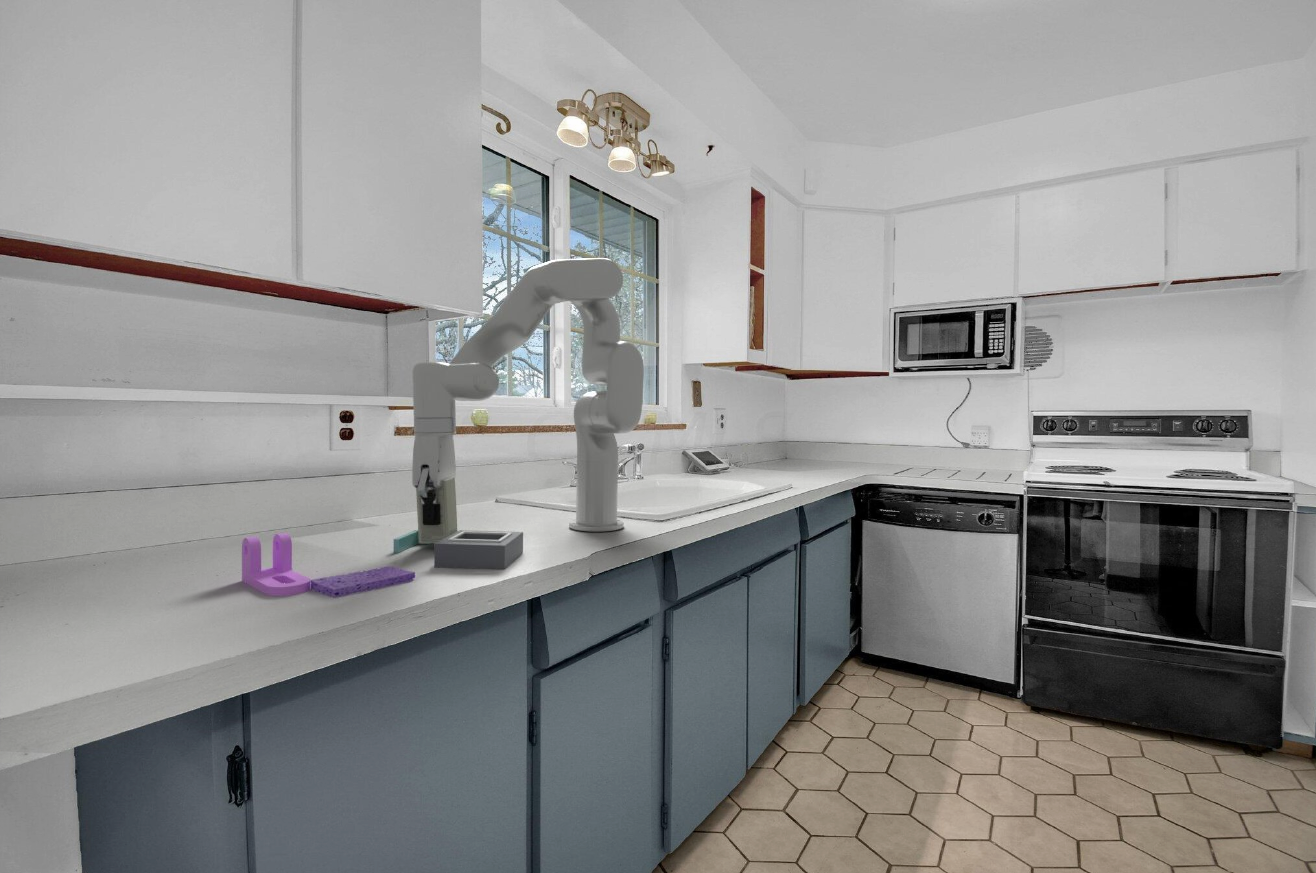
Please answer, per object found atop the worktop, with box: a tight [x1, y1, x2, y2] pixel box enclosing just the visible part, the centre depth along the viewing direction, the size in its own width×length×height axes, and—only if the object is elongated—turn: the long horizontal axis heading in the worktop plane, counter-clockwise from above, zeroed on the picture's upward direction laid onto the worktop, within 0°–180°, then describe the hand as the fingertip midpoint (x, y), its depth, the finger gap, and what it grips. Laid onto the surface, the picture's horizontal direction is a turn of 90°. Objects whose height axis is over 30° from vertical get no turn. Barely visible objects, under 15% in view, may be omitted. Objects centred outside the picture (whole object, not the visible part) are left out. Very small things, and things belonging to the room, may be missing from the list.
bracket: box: [241, 532, 312, 597], centre depth 91 cm, size 13×6×7 cm, turn 51°
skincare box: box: [415, 477, 458, 543], centre depth 117 cm, size 6×4×12 cm
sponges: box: [310, 565, 416, 599], centre depth 92 cm, size 7×13×2 cm, turn 144°
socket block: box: [433, 529, 524, 570], centre depth 109 cm, size 12×12×4 cm
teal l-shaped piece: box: [393, 529, 459, 554], centre depth 117 cm, size 9×11×2 cm
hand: (437, 521), depth 117 cm, fingers closed on skincare box, 4 cm apart
